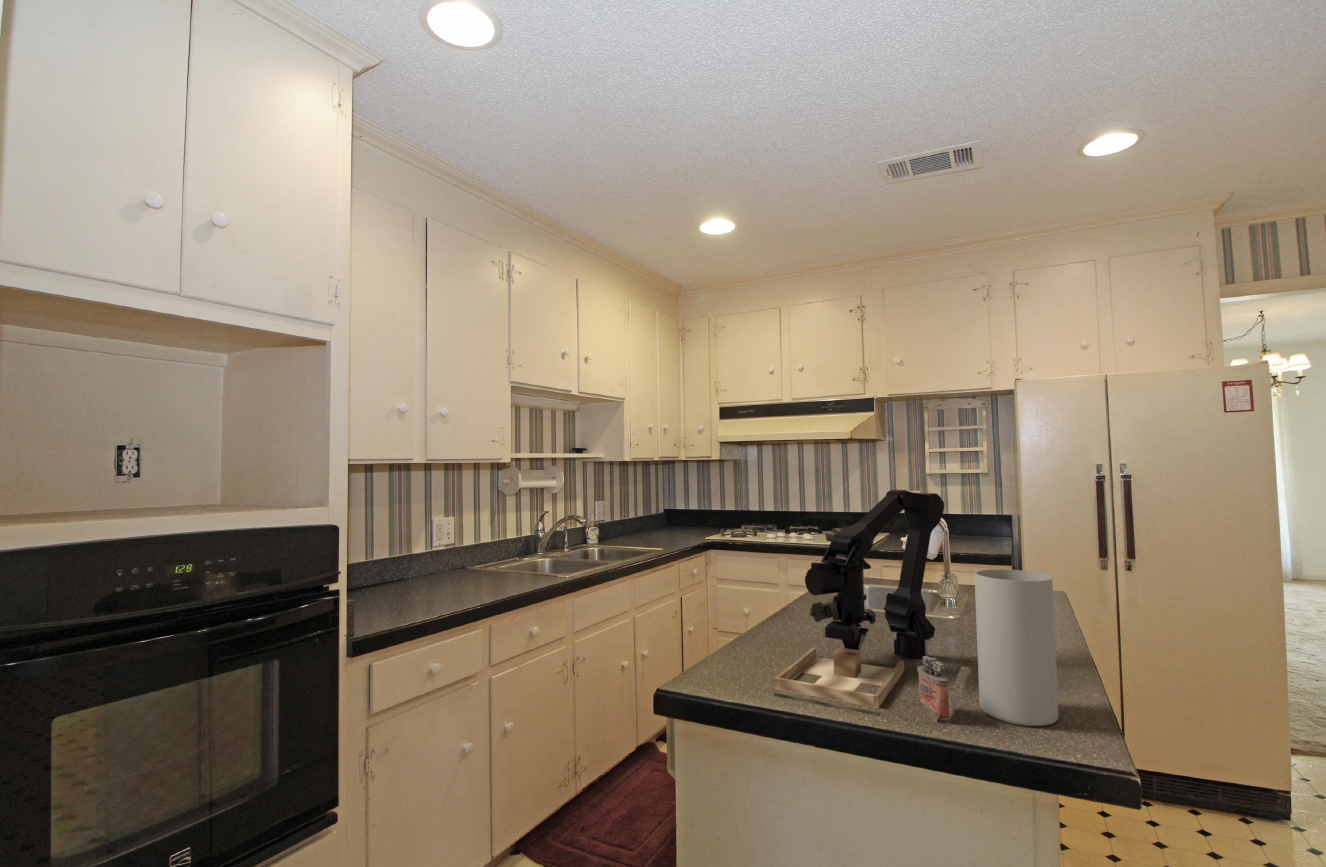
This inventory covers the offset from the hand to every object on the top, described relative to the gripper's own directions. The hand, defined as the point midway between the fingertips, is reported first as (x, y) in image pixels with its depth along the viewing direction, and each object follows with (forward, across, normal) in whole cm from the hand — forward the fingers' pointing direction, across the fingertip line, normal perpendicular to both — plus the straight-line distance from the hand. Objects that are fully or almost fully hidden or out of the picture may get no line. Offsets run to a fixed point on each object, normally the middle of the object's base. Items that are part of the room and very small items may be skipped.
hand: (852, 663), depth 135 cm
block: (+1, +4, 0) cm, 4 cm away
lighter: (+3, +14, +19) cm, 24 cm away
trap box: (+2, +8, 0) cm, 9 cm away
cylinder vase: (+3, +6, +32) cm, 32 cm away
